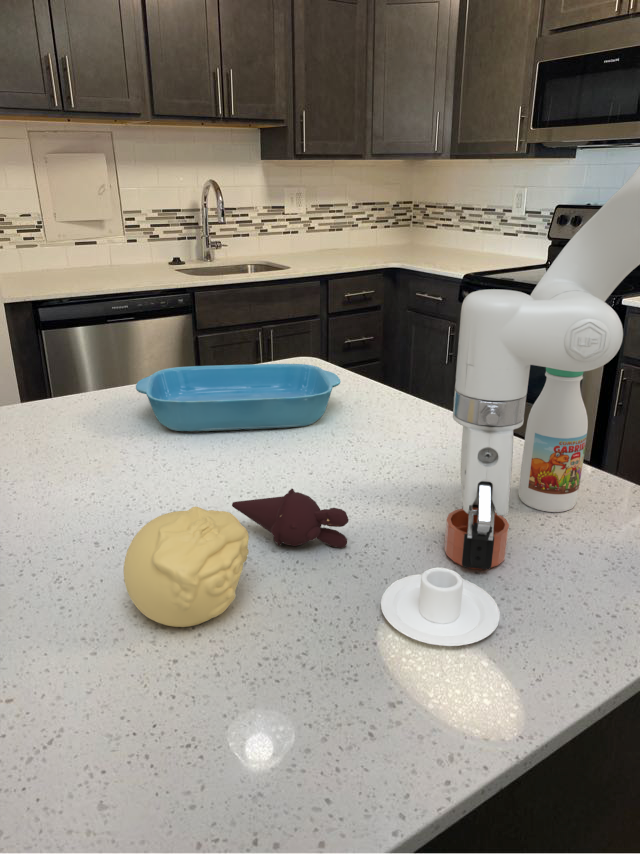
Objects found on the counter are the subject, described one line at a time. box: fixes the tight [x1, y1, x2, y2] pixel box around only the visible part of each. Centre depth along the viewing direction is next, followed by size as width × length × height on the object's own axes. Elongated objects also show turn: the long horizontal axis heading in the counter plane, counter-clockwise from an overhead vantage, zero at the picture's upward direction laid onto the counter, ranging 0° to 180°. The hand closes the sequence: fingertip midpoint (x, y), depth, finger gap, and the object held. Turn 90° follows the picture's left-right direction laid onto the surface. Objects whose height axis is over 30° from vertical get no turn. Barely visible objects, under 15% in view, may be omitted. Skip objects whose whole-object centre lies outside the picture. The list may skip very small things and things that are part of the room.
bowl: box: [443, 507, 510, 570], centre depth 78 cm, size 7×7×4 cm
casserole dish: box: [135, 363, 341, 432], centre depth 122 cm, size 37×22×7 cm, turn 99°
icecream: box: [231, 488, 349, 549], centre depth 80 cm, size 7×7×15 cm
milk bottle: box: [518, 367, 589, 513], centre depth 88 cm, size 8×8×20 cm
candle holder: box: [380, 566, 501, 647], centre depth 68 cm, size 12×12×4 cm
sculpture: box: [123, 506, 250, 628], centre depth 67 cm, size 12×12×11 cm
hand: (474, 547), depth 78 cm, fingers closed on bowl, 7 cm apart
